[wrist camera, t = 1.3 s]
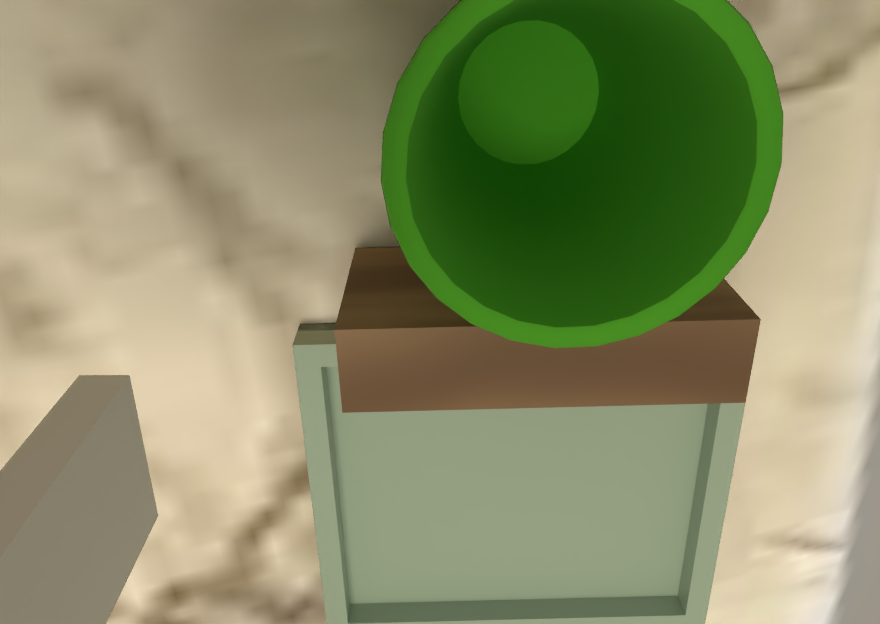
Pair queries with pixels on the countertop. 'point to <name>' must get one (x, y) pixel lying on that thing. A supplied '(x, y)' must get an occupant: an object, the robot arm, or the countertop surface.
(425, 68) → the cup
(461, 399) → the holder
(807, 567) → the countertop surface
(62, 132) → the countertop surface
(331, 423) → the tray
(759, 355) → the countertop surface
